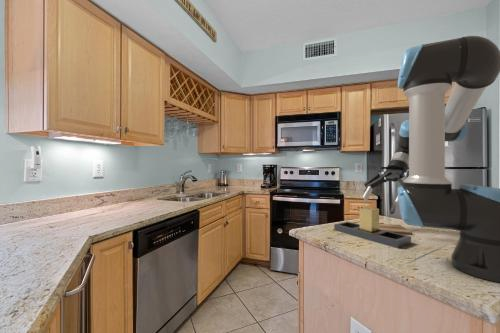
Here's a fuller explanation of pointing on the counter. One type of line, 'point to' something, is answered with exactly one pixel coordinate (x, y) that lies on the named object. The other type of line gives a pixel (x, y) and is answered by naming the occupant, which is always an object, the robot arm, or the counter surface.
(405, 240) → the compartment tray
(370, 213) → the golden rectangular block
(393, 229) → the coaster
